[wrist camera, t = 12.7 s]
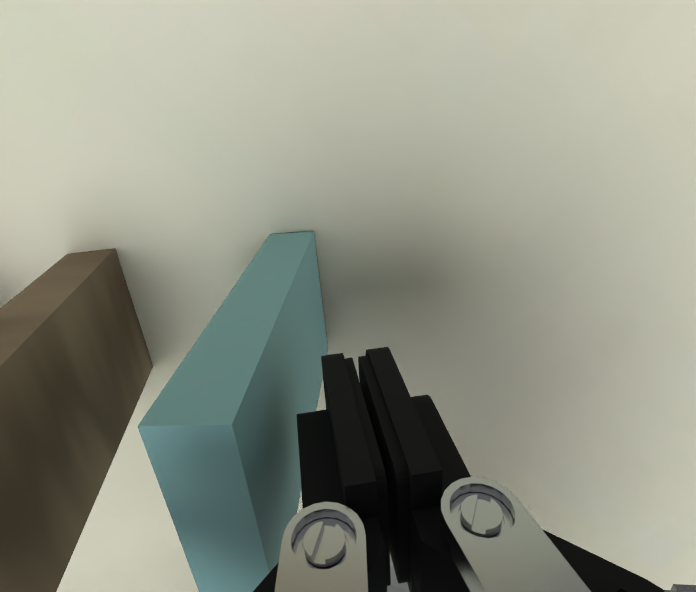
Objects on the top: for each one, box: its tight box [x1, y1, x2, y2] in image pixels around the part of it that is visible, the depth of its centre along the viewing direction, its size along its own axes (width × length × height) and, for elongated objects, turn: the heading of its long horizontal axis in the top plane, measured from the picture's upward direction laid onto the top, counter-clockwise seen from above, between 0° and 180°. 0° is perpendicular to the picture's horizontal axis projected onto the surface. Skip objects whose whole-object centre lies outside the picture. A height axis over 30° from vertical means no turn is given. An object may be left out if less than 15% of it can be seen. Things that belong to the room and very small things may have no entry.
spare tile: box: [138, 231, 328, 592], centre depth 13 cm, size 5×2×10 cm, turn 5°
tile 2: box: [0, 249, 153, 592], centre depth 12 cm, size 5×2×10 cm, turn 5°
